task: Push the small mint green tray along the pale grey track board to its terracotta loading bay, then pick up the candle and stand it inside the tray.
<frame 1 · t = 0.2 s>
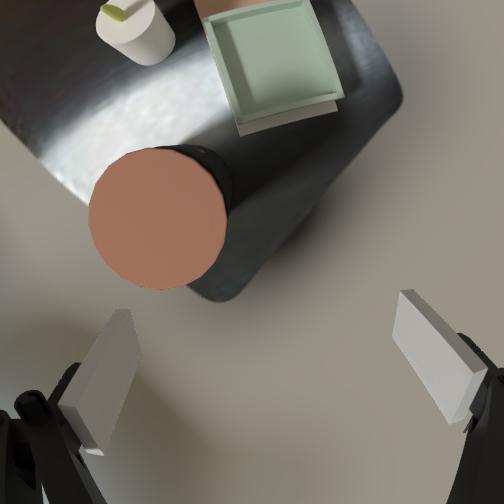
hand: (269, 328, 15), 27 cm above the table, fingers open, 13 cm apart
candle: (152, 43, 32), on the table
mint green tray: (272, 58, 31), point 3 cm above the table, slide at 0.0 cm
coffee jar: (190, 186, 39), on the table
track board: (257, 30, 32), on the table
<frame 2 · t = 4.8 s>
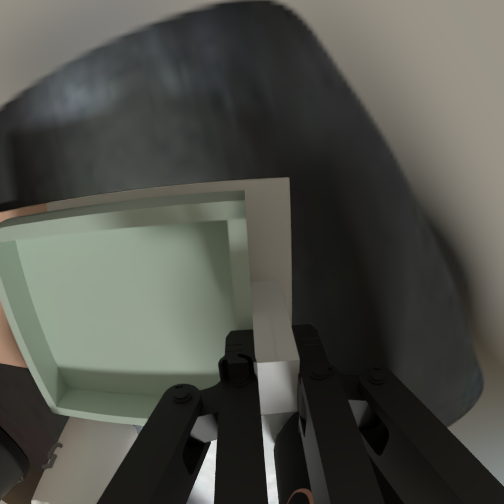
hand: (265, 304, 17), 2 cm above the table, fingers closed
candle: (104, 424, 23), on the table
mint green tray: (125, 319, 16), point 3 cm above the table, slide at 1.0 cm, touching gripper
coffee jar: (334, 428, 23), on the table
track board: (84, 296, 18), on the table
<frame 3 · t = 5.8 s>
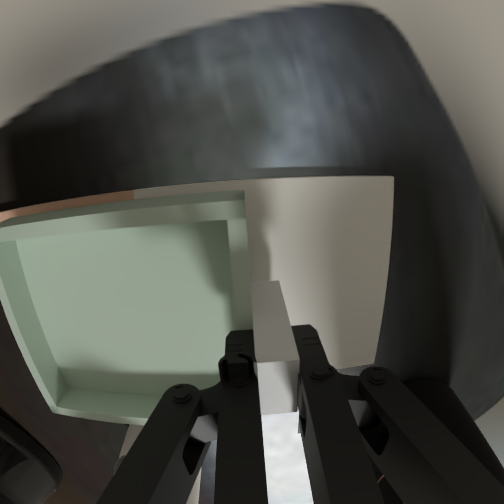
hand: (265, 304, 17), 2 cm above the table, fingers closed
candle: (166, 430, 23), on the table
mint green tray: (125, 319, 16), point 3 cm above the table, slide at 6.9 cm, touching gripper
coffee jar: (397, 415, 23), on the table
track board: (168, 294, 18), on the table
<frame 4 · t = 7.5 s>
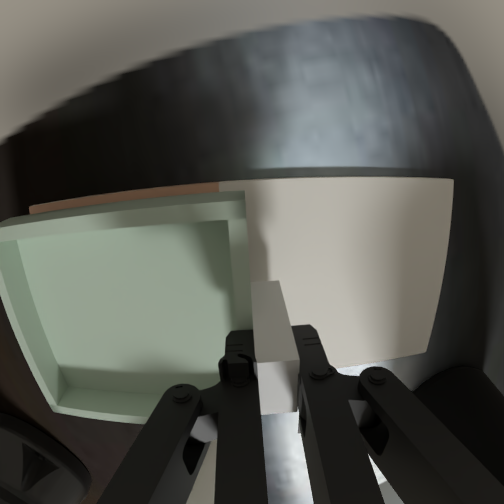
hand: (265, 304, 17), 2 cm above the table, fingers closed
candle: (219, 430, 23), on the table
mint green tray: (126, 318, 16), point 3 cm above the table, slide at 11.4 cm, touching gripper
coffee jar: (436, 403, 24), on the table
track board: (245, 289, 19), on the table
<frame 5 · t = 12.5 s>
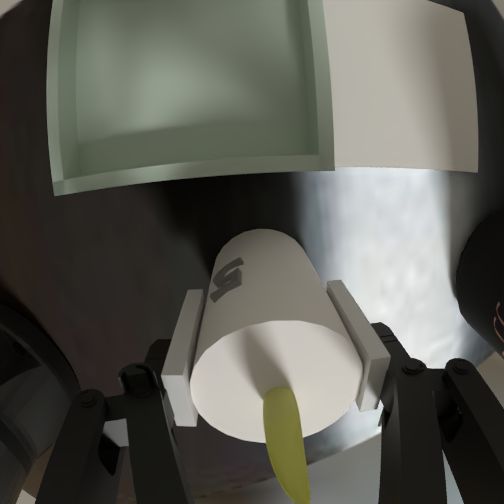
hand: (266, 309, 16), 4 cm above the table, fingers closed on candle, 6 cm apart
candle: (260, 273, 21), on the table, touching gripper
mint green tray: (182, 58, 13), point 3 cm above the table, slide at 11.4 cm
coffee jar: (493, 264, 21), on the table
track board: (300, 64, 16), on the table
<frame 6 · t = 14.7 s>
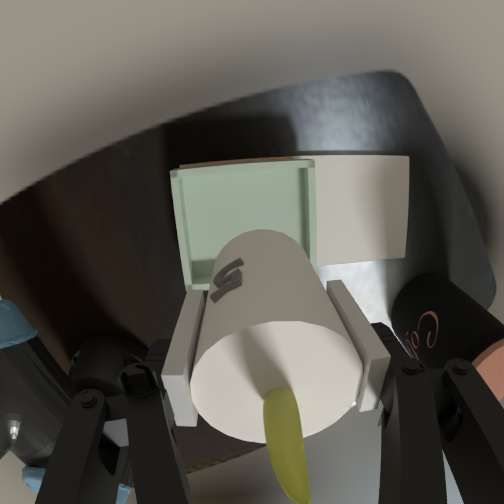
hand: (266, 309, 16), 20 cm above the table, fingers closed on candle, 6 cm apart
candle: (261, 274, 21), point 15 cm above the table, touching gripper
mint green tray: (246, 222, 32), point 3 cm above the table, slide at 11.4 cm
coffee jar: (419, 304, 40), on the table
track board: (303, 212, 35), on the table
when the fingers open (9 cm above the table, at t = 17.1 s): candle drops 1 cm, resting on mint green tray.
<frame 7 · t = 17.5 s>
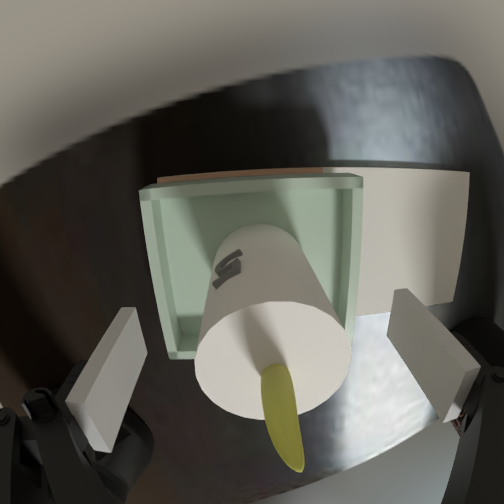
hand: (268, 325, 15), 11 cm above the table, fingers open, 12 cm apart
candle: (258, 266, 22), point 3 cm above the table, touching mint green tray
mint green tray: (255, 265, 22), point 3 cm above the table, slide at 11.3 cm, touching candle
coffee jar: (459, 352, 30), on the table
track board: (333, 247, 25), on the table
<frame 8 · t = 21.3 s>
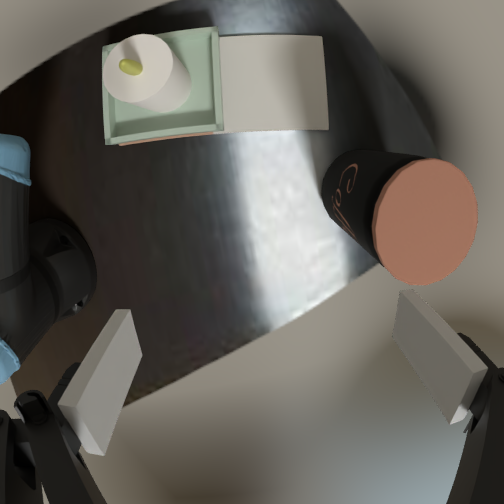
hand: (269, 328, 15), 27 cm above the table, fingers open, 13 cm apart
candle: (164, 86, 32), point 3 cm above the table, touching mint green tray
mint green tray: (162, 86, 32), point 3 cm above the table, slide at 11.3 cm, touching candle
coffee jar: (357, 189, 39), on the table
track board: (219, 84, 34), on the table
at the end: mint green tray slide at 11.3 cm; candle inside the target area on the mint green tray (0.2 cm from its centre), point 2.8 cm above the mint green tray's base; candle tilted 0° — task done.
